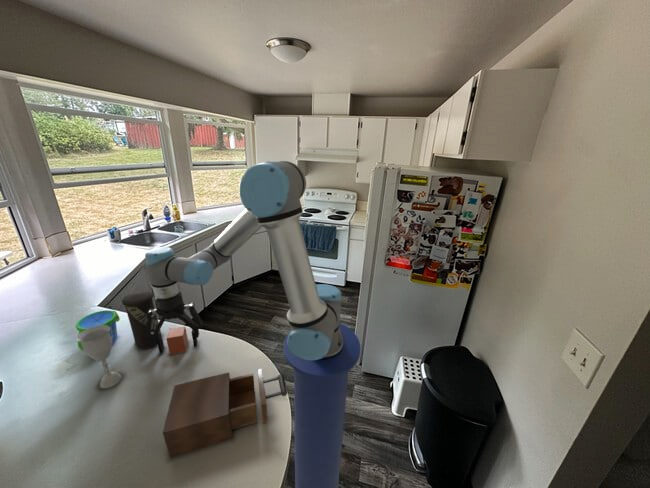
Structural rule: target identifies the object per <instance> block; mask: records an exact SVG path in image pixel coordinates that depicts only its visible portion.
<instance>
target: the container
mask: <svg viewBox="0 0 650 488" xmlns="http://www.w3.org/2000/svg"><path fill="white" fill-rule="evenodd" d="M153 298H154V294H153V291H151V290H148V289H138V290H134V291H131V292H128V293H126V294H125V295H124V296H123V297H122V299H121V303H122V305H123V306H124V308H125V312H126V314H127V317H128V321H129V325H130V328H131V332H132V335H133V341H134V343H135V346H136V348H138V349H140V350H144V349H145V350H146V349H150V348H153V347H155V346H156V345H155V344H154V341H153V338H151V337H149V338H146V337H145V334H146V327H147V321H148V318H147V316H146V314H147V312H148V310H149V309H152V310H154V309H156V308H155V304H154V301H153ZM158 323H159V319H158V314H157V313H156V314H155V316H154V319H153V325H152V332H154V331H155V329H156V327H157V325H158ZM159 333H161V336H162V337H163V334H162V331H161V329H160V331H159Z"/></svg>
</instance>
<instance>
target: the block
mask: <svg viewBox="0 0 650 488" xmlns="http://www.w3.org/2000/svg"><path fill="white" fill-rule="evenodd" d="M165 340H166V344H167V348H168V352H169V355H175V354H180V353H185V352H187V349H188V346H189V345H188V344H189V338H188V333H187V328H186V326H185V325H184V326H179V327H174V328H169V330H168V332H167V334H166V338H165Z"/></svg>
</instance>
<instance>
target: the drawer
mask: <svg viewBox="0 0 650 488" xmlns="http://www.w3.org/2000/svg"><path fill="white" fill-rule="evenodd" d="M257 378H258V379H257V380H258V390H259V400H260V401H259V402H260V408H261V417H262V418H261V419H262V424H267V423H268V422H269V420H268V403H267V400H268V399H271V398H276V397H278V396H279V397H280V396H282V397H286V396H287V395H288V390H287V385H286V380H285V375H284V374H283V373H280V374H278V376H275V377H271V378H266V379H264V374H263V368H259V369H257ZM275 381H278V384H279V389H280V391H278V392H274V393H270V394H267V395H266V390H265V384H267V383H271V382H275ZM229 417H230V424H231V430H232V431H233V430H235V429H239V428H243V427H245V426H248V425H249V426H250V425H253V424H255V423H258V410H257V400H256V389H255V377H254V373H253V372H252V373H249V374H248V373H247V374H244V375H241V376H235V377H232V378H231V377H230V379H229Z"/></svg>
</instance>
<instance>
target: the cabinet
mask: <svg viewBox="0 0 650 488" xmlns="http://www.w3.org/2000/svg"><path fill="white" fill-rule="evenodd" d="M229 379H231V375H230V372H229V371H228V372H224V373H220V374H216V375H212V376H207V377H203V378H199V379H194V380H190V381H186V382H182V383H177V384H173V385H174V386H173V390H172V393H171V398H170V402H169V405H168V410H167V414H166V418H165V423H164V427H163V430H162V435H163V438H164V442H165V446H166V450H167V453H168V456H169V458H174V457H177V456H180V455H183V454H186V453H189V452H192V451H196V450H199V449H202V448H207V447H209V446H212V445H215V444H219V443H222V442H225V441H227V440H231V439H233V430H231V424H230V417H229Z"/></svg>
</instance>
